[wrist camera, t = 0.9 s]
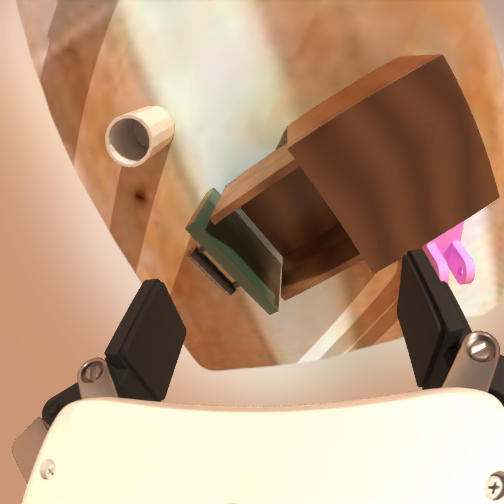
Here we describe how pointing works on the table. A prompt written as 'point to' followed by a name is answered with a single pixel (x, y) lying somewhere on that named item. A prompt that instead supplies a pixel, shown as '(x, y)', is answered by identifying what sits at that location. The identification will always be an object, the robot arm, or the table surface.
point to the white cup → (139, 135)
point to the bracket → (450, 256)
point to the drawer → (270, 233)
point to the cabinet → (396, 157)
